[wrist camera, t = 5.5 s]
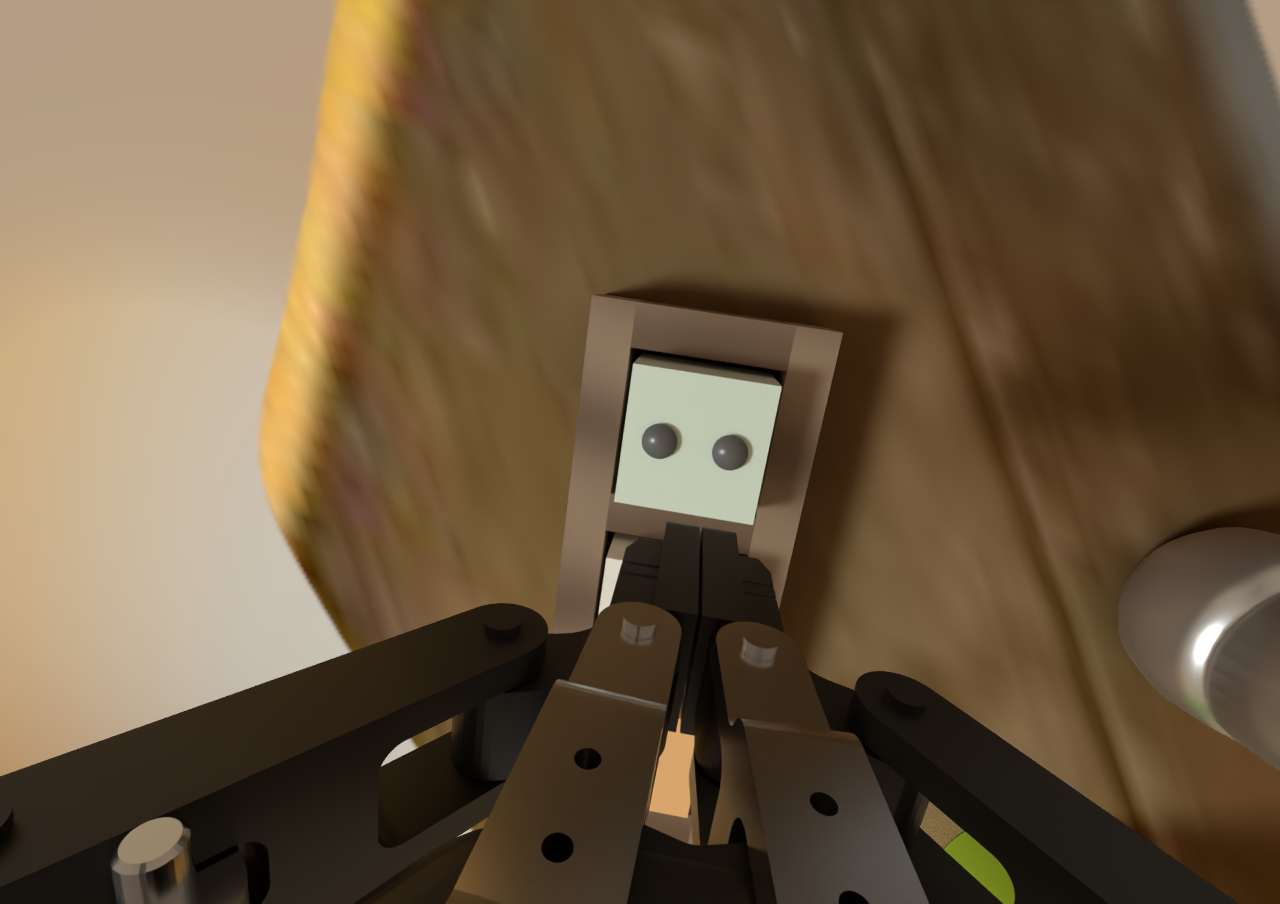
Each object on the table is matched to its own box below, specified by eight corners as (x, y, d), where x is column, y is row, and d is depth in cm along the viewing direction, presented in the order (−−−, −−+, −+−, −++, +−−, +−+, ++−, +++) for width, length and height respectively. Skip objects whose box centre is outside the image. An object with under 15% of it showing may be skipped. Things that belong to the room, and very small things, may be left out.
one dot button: (601, 654, 26) (588, 703, 23) (705, 674, 25) (706, 726, 22) (588, 741, 27) (574, 799, 24) (688, 760, 27) (687, 821, 24)
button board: (603, 293, 22) (592, 294, 19) (827, 327, 21) (843, 332, 19) (546, 766, 27) (531, 812, 25) (721, 800, 27) (722, 850, 25)
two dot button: (642, 352, 21) (632, 363, 18) (770, 372, 21) (782, 387, 18) (625, 473, 22) (613, 503, 19) (746, 494, 22) (753, 526, 19)
